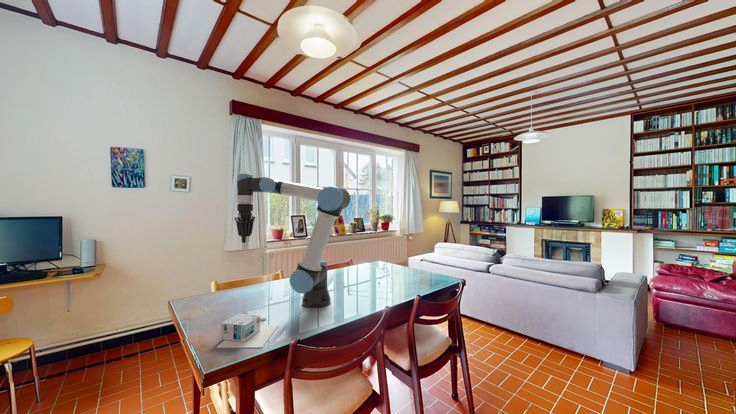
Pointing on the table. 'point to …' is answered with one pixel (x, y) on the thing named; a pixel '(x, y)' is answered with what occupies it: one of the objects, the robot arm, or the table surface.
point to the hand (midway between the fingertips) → (245, 248)
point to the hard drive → (258, 313)
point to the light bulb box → (240, 327)
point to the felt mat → (252, 339)
